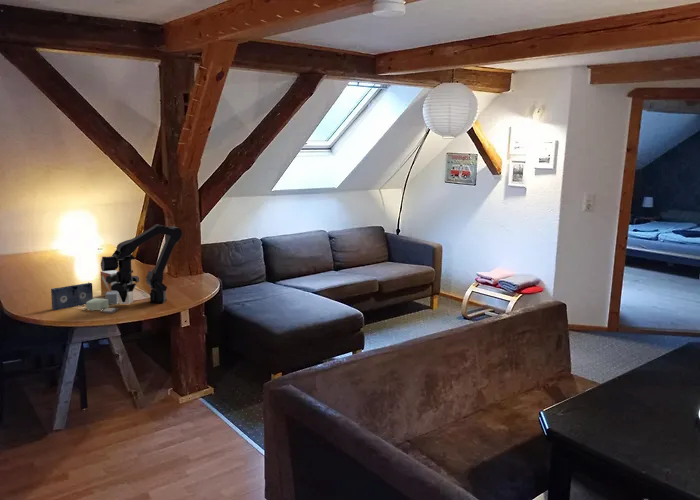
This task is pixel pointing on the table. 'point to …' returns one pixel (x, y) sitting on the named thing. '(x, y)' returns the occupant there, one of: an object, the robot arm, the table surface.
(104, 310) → the swatch
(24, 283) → the table surface
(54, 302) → the vhs cassette tape
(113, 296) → the slate cube
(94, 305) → the sage block
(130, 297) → the cream cube
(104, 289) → the small box
